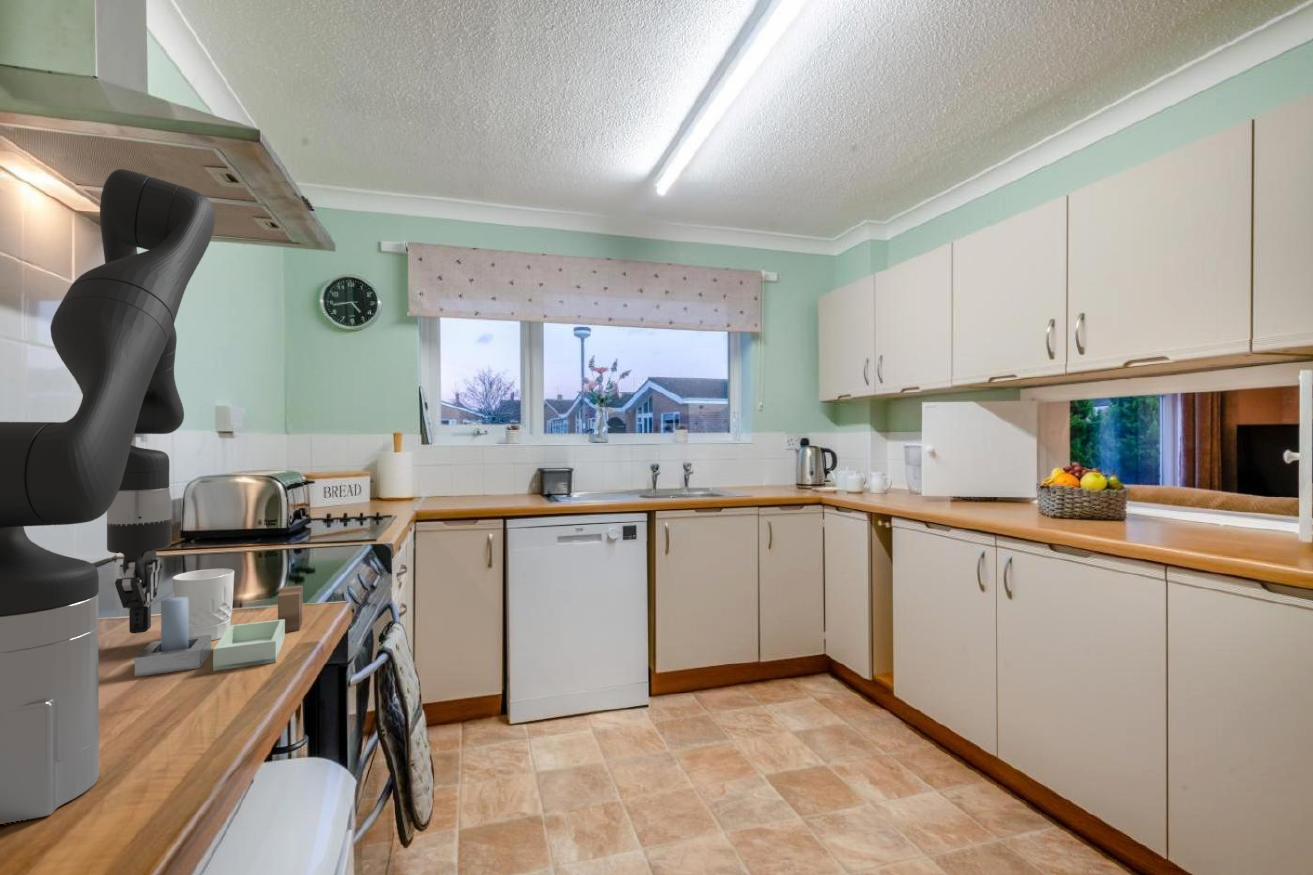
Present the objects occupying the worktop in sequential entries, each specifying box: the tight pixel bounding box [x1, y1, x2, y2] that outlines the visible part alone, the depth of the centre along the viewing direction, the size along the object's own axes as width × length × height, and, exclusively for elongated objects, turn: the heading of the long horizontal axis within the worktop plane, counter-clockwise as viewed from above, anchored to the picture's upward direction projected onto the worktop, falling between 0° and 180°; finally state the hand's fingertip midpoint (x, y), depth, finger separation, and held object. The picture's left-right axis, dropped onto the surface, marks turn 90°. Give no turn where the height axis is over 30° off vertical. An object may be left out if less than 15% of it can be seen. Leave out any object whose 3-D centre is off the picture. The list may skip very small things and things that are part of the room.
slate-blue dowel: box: [160, 597, 189, 652], centre depth 84 cm, size 3×3×9 cm
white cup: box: [171, 568, 235, 642], centre depth 95 cm, size 8×8×10 cm
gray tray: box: [134, 635, 212, 678], centre depth 84 cm, size 7×7×2 cm
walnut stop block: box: [277, 585, 304, 633], centre depth 100 cm, size 6×3×6 cm, turn 26°
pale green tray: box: [212, 619, 286, 672], centre depth 88 cm, size 11×7×3 cm, turn 26°
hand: (140, 631), depth 92 cm, fingers closed
